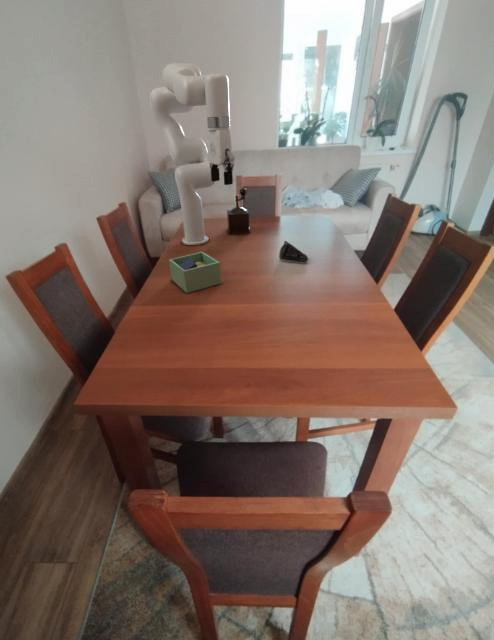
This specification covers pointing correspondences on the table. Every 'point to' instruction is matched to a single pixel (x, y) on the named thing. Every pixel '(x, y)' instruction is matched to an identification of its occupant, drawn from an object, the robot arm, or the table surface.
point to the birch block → (199, 264)
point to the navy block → (188, 264)
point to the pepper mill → (238, 217)
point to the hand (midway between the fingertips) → (221, 182)
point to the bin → (195, 272)
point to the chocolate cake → (292, 254)
